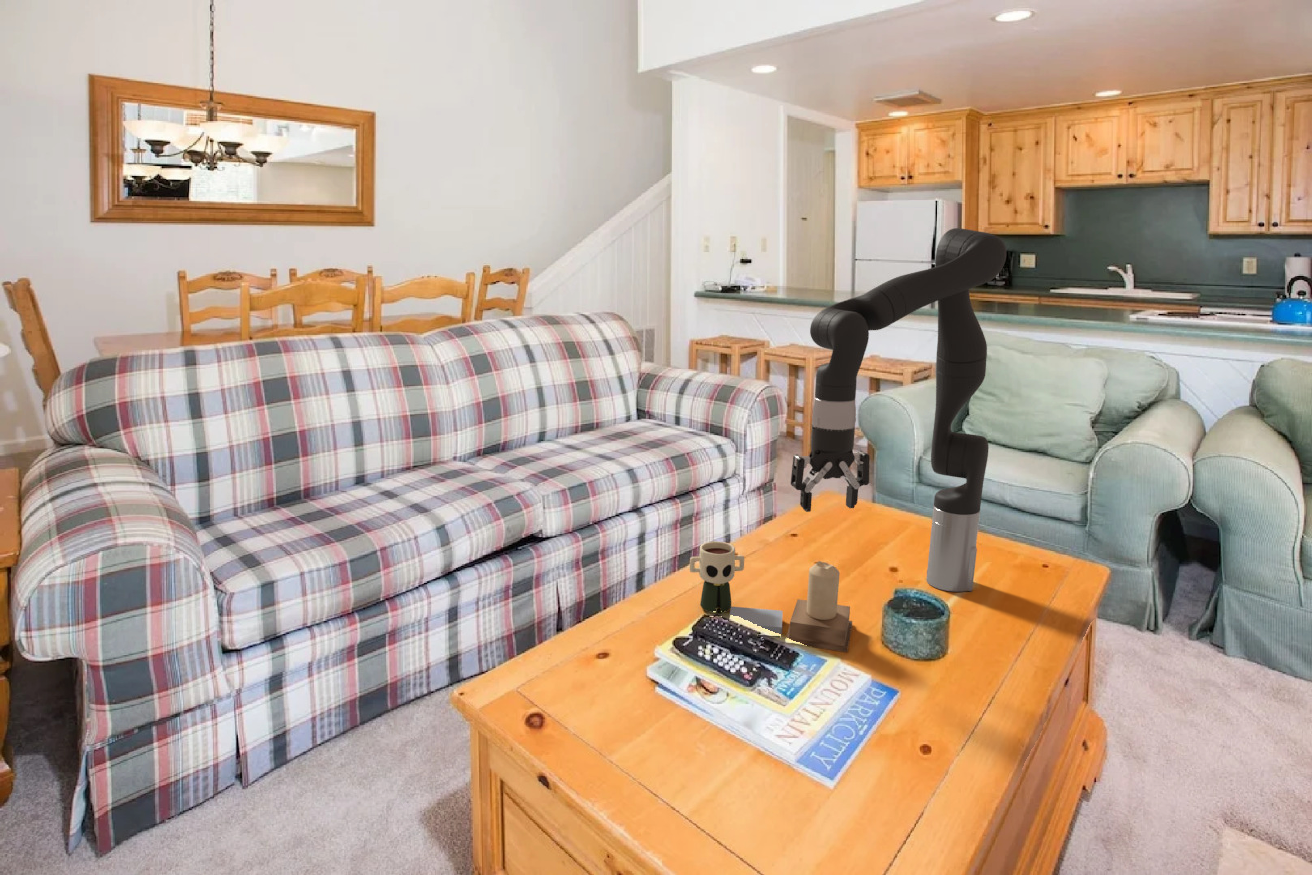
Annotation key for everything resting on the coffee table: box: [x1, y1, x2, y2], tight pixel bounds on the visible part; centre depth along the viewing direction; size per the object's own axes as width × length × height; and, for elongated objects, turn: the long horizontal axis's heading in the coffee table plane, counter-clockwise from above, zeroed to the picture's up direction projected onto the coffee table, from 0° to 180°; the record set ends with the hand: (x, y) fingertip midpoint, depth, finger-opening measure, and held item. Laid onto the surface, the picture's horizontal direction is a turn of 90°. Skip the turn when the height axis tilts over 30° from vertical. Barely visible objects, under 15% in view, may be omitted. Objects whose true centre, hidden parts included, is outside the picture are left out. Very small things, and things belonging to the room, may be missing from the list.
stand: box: [785, 598, 853, 653], centre depth 151 cm, size 11×11×4 cm
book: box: [729, 605, 784, 634], centre depth 154 cm, size 10×7×2 cm
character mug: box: [689, 541, 745, 613], centre depth 160 cm, size 11×7×13 cm, turn 96°
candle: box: [806, 560, 840, 620], centre depth 150 cm, size 6×6×10 cm
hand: (828, 508), depth 147 cm, fingers open, 8 cm apart
